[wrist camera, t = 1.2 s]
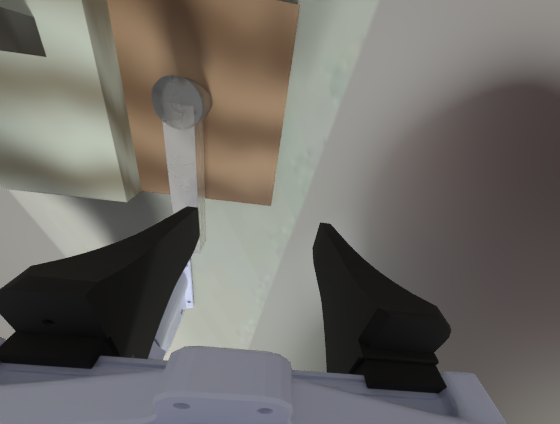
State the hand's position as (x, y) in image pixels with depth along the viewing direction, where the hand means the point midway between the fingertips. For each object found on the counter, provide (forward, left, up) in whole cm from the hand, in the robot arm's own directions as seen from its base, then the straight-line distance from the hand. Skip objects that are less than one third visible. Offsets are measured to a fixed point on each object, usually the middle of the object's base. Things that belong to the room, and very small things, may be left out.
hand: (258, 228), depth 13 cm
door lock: (+5, +10, -10) cm, 15 cm away
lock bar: (0, +6, -6) cm, 9 cm away
